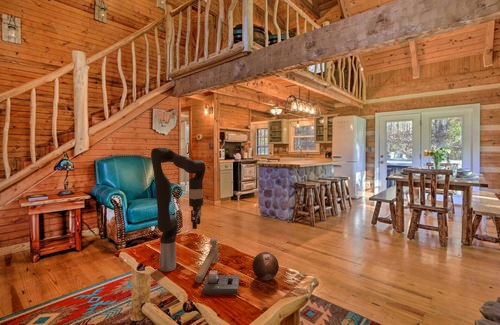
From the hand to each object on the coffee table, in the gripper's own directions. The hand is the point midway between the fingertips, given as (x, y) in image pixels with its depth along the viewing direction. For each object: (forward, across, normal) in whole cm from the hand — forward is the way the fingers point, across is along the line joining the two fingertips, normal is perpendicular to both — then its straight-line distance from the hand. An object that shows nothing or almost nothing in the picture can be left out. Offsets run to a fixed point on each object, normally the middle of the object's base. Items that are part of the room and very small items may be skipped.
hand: (196, 226), depth 137 cm
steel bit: (+32, +3, +10) cm, 34 cm away
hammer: (+32, -15, +3) cm, 36 cm away
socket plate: (+32, +3, +14) cm, 35 cm away
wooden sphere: (+32, -6, +38) cm, 50 cm away
